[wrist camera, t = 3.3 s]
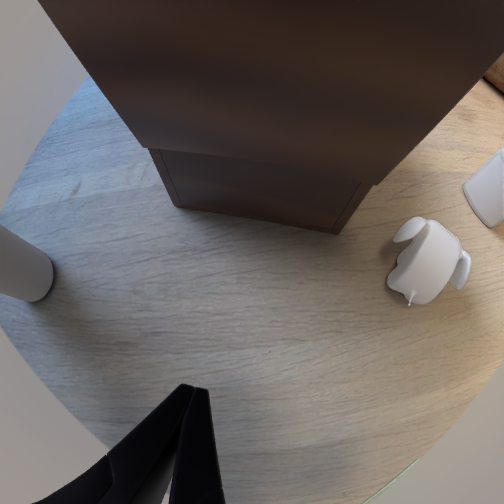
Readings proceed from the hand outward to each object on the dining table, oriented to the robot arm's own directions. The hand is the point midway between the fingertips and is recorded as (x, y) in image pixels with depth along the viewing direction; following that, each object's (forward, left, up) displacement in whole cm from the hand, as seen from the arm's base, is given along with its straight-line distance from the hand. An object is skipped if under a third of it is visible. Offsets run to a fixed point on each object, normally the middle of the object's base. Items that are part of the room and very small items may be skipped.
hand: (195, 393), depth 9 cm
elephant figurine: (+16, -3, -14) cm, 21 cm away
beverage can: (-10, +16, -14) cm, 23 cm away
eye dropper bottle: (+29, -4, -14) cm, 32 cm away
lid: (+8, +7, +2) cm, 11 cm away
